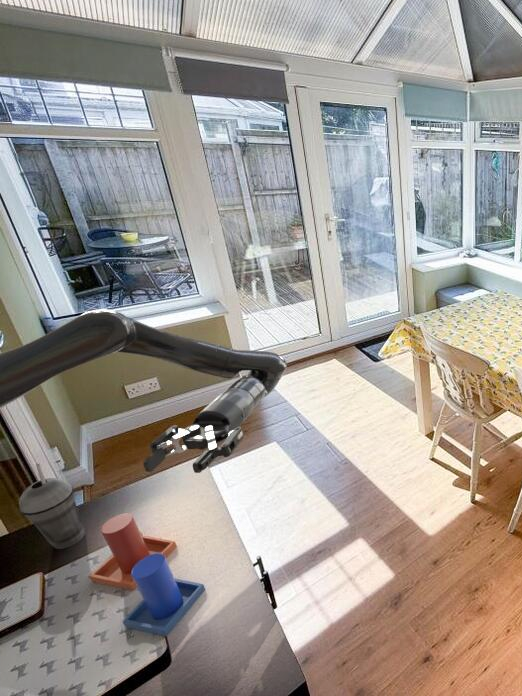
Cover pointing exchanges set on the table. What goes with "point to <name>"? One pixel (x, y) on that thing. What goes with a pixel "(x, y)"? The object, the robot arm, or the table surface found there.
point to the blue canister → (157, 586)
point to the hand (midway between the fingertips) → (171, 468)
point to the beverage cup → (53, 510)
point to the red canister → (125, 541)
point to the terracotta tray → (114, 577)
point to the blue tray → (147, 623)
